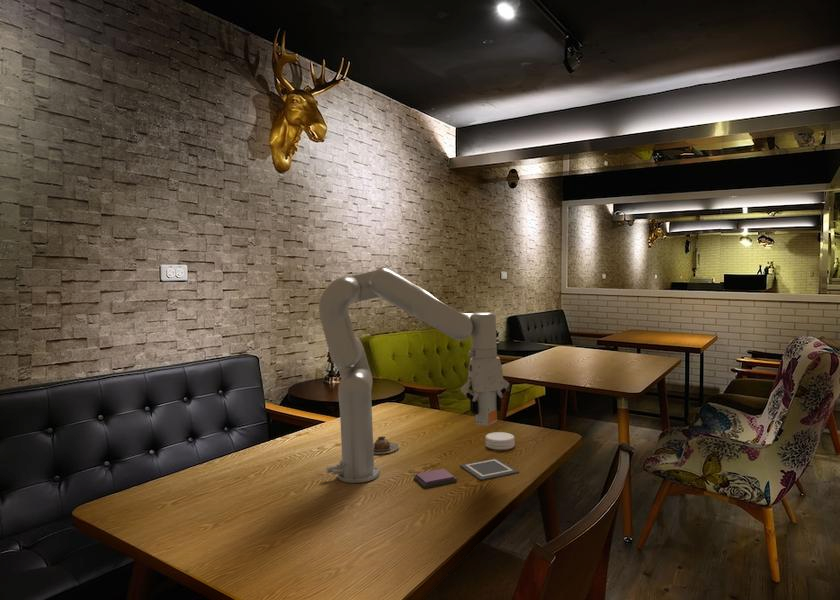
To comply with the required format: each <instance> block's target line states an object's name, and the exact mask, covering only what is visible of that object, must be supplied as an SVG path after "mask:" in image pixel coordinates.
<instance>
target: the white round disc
mask: <svg viewBox="0 0 840 600" xmlns="http://www.w3.org/2000/svg"><path fill="white" fill-rule="evenodd" d="M515 442H516V441H515V435H513V434H511V433H509V432H503V431H497V432H489V433H487V434H486V435H485V446H486V447H487V448H488V449H492V450H499V451H503V450H504V451H505V450H510V449H513V448H514V447H515V444H516V443H515Z"/></svg>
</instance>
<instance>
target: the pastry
mask: <svg viewBox="0 0 840 600" xmlns="http://www.w3.org/2000/svg"><path fill="white" fill-rule="evenodd" d="M399 448H400V447H399V445H398V444H397V443H395V442H390V441H389V440H388V439H387V438H386V436H383V435H382V436H379V437H377V439H376V440H375V442H373V450H374V455H377V456H378V455H383V454H389V453H393V452H395V451H397V450H398V449H399ZM391 449H392V450H391Z"/></svg>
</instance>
